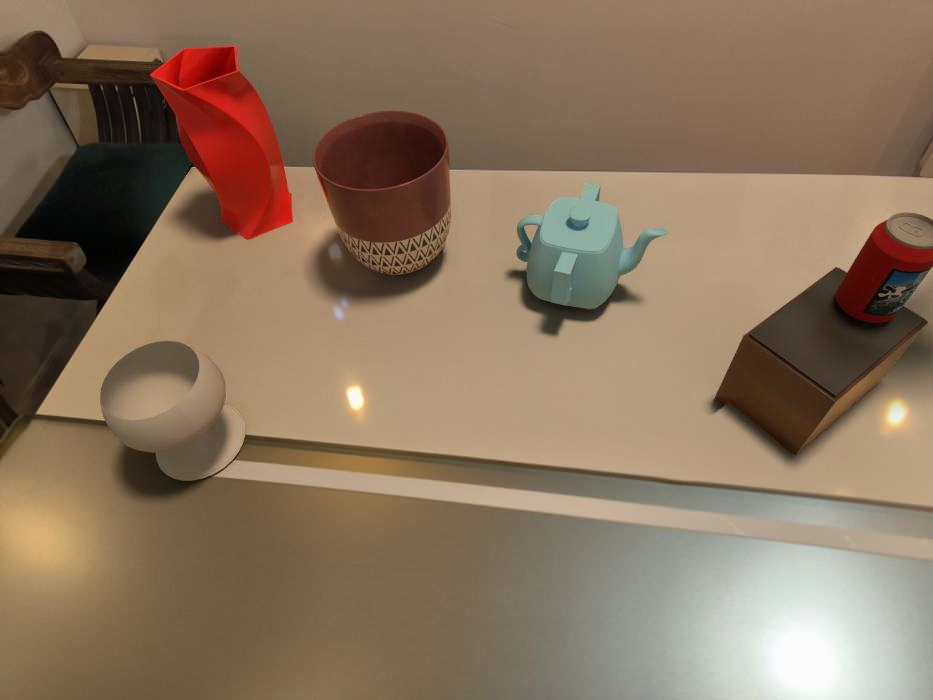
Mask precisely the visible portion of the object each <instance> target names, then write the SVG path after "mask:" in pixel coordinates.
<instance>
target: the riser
mask: <svg viewBox="0 0 933 700" xmlns="http://www.w3.org/2000/svg"><path fill="white" fill-rule="evenodd" d="M847 272H848V271H846V270H844V269H842V268H841V267H837V266H834V268H832V269H831V270H830V271H828V272H827V273H825V274H824V275H823V276H822V277H820V278H819V279H817V280H816V281H815V282H813V283H812V284H810V286H808V287H807V288H805V289H804V290H803V291H802V292H800V293H799V294H798V295H795V297H794V298H793V297H792V299H791V300H789V301H788V302H787V303H785V304H784V305H782V306H781V307H780V308H778V309H777V310H775V312H773V313H772V314H770V315H769V316H768V317H766V318H765V319H764V320H762V321H761V322H759V323H758V324H757V325H756V326H754V327H753V328H751V329H750V330H749V331H747V332H746V333H745V334H744V335H743V336H742V338H741V340H740V342H739V344H738V346H737V349H736V351H735V353H734V354H733V357H732V360H731V362H730V363H729V366H728V368H727V370H726V372H725V374H724V377H723V379H722V381H721V383H720V384H719V387H718V388H717V392H716V394H715V396H714V400H715V399H716V400H715V401H716V402H718V403H719V404H720V403H721V404H722V405H721V404H720V405H721V406H722V407H725V406H726V405H728V404H730V405H731V406H732V407H734V408H735V409H736V410H737V411H739V412H740V413H741V414H742V415H743V416H744V417H746V418H747V419H749V421H751V422H752V423H753V424H754V425H756V426H757V427H758V428H759V429H760V430H762V431H763V432H765V433H766V434H767V436H770V438H772V439H773V440H774V441H776V442H777V443H778V444H779V445H780V446H782V447H783V448H784V449H785V450H787V451H788V452H789V453H790V454H792V455H793V456H794V457H795V456H797V455H798V454H799V453H800V452H801V451H803V450H804V449H805V448H806V447H807V446H808V445H809V444H811V443H812V442H813V441H814V440H815V439H816V438H817V437H819V436H820V435H821V434H822V433H823V432H824V431H825V430H826V429H827V428H829V427H830V426H831V425H832V424H833V423H834V422H836V421H837V420H838V419H839V418H840V417H841V416H842V415H844V414H845V413H846V412H847V411H848V410H850V408H852V407H853V406H854V405H855V404H856V403H857V402H858V401H860V400H861V399H862V398H863V397H864V396H866V395H867V393H869V392H870V391H871V390H872V389H873V388H874V387H876V386H877V385H878V384H879V383H881V381H882V380H883V379H884V377H885V376H886V375H887V374H888V373H889V371H890V370H891V369H892V368H893V366H894V365H895V364H896V363H897V362H898V360H899V359H900V358H901V357H902V355H903V354H904V353H905V352H906V351H907V349H908V348H909V347H910V346H911V344H913V342H914V341H915V340H916V339H917V337H918V336H919V335H920V334H921V333H922V331H923V330H924V329H925V328H926V326H927V325H929V323H930V322H929V321H928V320H927V319H926V318H924V317H923V316H921V315H919V314H918V313H916V312H914V311H913V310H911V309H909V308H907V307H906V306H905V305H903V307H902V308H901V309H900V311H899V312H898V313H897V314H896V316H895V317H894V318H892V319H891V320H889V321H886V322H881V323H870V322H865V321H861V320H859V319H856V318H854V317H852V316H850V315H849V314H847V313H846V312H845V311H844V310H843V309H842V308H841V307H840V306H839V304H838V302H837V300H836V291H837V289H838V288H839V286H840V284H841V282H842V281H843V279H844V277H845V275H846V274H847Z"/></svg>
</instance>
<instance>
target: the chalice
mask: <svg viewBox="0 0 933 700" xmlns="http://www.w3.org/2000/svg"><path fill="white" fill-rule="evenodd" d="M226 387H227V385H226V380H225V377H224V374H223V372H222V371H221V368H219V366H218V365H217V364H216V362H215V361H214V360H213V359H212V358H211V357H210V356H208V355H207V354H206V353H204V352H203V351H201V350H200V349H198V348H196V347H194V346H193V345H190V344H187V343H184V342H182V341H181V342H180V341H176V340H175V341H173V340H162V341H154V342H151V343H146V344H144V345H142V346H140V347H137V348H135V349H133V350H131V351H130V352H128V353H127V354H125V355H123V357H121V358H120V359H119V360H118V361H117V362H115V364H114V365H113V366H112V367H111V368H110V369H109V371H108V372H107V374H106V375H105V377H104V379H103V381H102V384H101V387H100V391H99V392H100V394H99V404H100V409H101V414H102V417H103V420H104V421H105V423H106V425H107V427H108V428H109V430H110V432H111V433H112V434H113V436H114V437H115V438H116V439H118V440H119V441H120V442H121V443H122V444H124V445H125V447H128V448H130V449H133V450H136V451H140V452H145V453H155V458H156V463H157V465H158V466H159V469H160V470H161V471H162V473H164V474H165V475H166V476H167V477H170V478H172V479H174V480H178V481H182V482H186V481H187V482H189V481H198V480H202V479H205V478H208V477H210V476H212V475H215V474H217V473H218V472H219V471H221V470H223V469H224V468H225V467H227V466H228V465H229V464H230V463H231V462H232V461H233V460H234V459H235V457H237V455H238V453H239V452H240V450H241V448H242V447H243V445H244V441H245V437H246V432H247V431H246V430H247V429H246V422H245V419H244V416H243V415H242V414H241V413H240V411H238V410H237V409H236V408H235V407H234V406H232V405H229V404H227V403H225V401H226V397H227V396H226V395H227V393H226V392H227V391H226V389H227V388H226Z"/></svg>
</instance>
